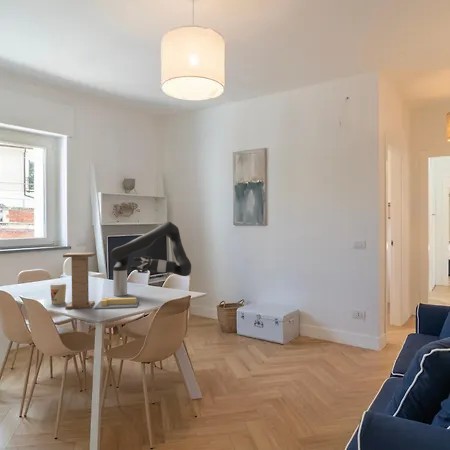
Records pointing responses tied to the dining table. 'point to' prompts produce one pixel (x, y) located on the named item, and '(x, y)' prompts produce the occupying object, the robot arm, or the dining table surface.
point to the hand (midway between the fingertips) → (132, 263)
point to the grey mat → (117, 306)
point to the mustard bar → (117, 301)
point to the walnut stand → (80, 281)
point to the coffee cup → (58, 293)
